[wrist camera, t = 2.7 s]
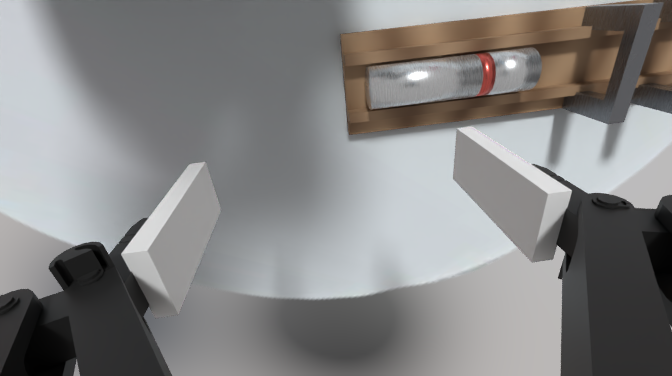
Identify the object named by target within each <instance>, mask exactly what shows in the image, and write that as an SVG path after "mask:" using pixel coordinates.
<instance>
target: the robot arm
mask: <svg viewBox="0 0 672 376" xmlns="http://www.w3.org/2000/svg"><path fill="white" fill-rule="evenodd" d="M453 179H454V180H455V181H456V182H457V184H458V185H459V186H460V187H461V188H462V189H463V190H464V191H465V192H466V193H467V194H468V195H469V196H470V197H471V198H472V199H473V201H474V202H475V203H476V204H477V205H478V206H479V207H480V208H481V209H482V210H483V211H484V212H485V213H486V214H487V215H488V216H489V218H490V219H491V220H492V221H493V222H494V223H495V224H496V225H497V226H498V227H499V228H500V229H501V230H502V231H503V232H504V233H505V235H506V236H507V237H508V238H509V239H510V240H511V241H512V242H513V243H514V244H515V245H516V246H517V247H518V248H519V249H520V250H521V252H522V253H523V254H524V255H525V256H526V257H527V258H528V259H529V260H530V261H531V262H538V261H545V260H552V259H553V258H554V254H555V250H556V247H557V245H558V246H559V247H560V248H561V249H562V250H563V251H565V252H566V253H565V256H564V259H563V263H562V266H561V269H560V273H559V276H558V278H559V279H562V333H561V335H562V336H561V376H672V331H671V327H672V195H668V196H665V197H662V199H661V200H660V203H659V205H658V207H657V209H641V208H634V206H633V205H632V204H631V203H630V202H628V201H627V200H625V199H623V198H620V197H617V196H614V195H609V194H604V193H591V194H588V193H586V192H584V191H583V190H581V189H579V188H578V187H576V186H575V185H573V184H571V183H570V182H568V181H564V179H563V178H562V177H560V176H557V175H556V174H555V173H553V172H552V171H550V170H549V169H547V168H544V167H541V166H538V165H535V164H530V163H528V162H527V161H525V160H524V159H522V158H521V157H519V156H517V155H516V154H514V153H513V152H511V151H510V150H508V149H507V148H505V147H503V146H502V145H500V144H499V143H497V142H496V141H494V140H492V139H491V138H489V137H488V136H486V135H485V134H483V133H481V132H480V131H478V130H477V129H475V128H474V127H464V128H457V132H456V145H455V158H454V171H453ZM220 213H221V208H220V204H219V201H218V198H217V195H216V192H215V189H214V186H213V183H212V180H211V176H210V173H209V170H208V167H207V164H206V162H200V163H192V164H189V165H188V167H187V168H186V169H185V170H184V172H183V173H182V174H181V176H180V177H179V178H178V180H177V181H176V182H175V184H174V185H173V186H172V188H171V189H170V190H169V192H168V193H167V194H166V196H165V197H164V198H163V199H162V201H161V202H160V203H159V205H158V206H157V207H156V209H155V210H154V211H153V213H152V214H151V215H150V217H149V218H143V219H142V220H140V221H139V222H138V223H136V224H135V225H133V226H132V227H131V228H130V229H129V231H128V232H127V233H126V234H125V237H123V238H122V239H121V241H120V242H119V244H117V246H116V247H115V248H114V249H113V250H112V252H111V253H110V254H108V253H107V251H106V249H105V247H104V246H103V244H101V243H100V242H89V243H83V244H81V245H78V246H75V247H72V248H70V249H68V250H66V251H64V252H63V253H61V254H60V255H58V256H57V257H56V258H55V259H54V260H53V261H52V262H51V263H50V266H49V270H50V271H51V272H52V274H53V275H54V277H55V278H56V280H57V281H58V283H59V284H60V285H61V287H62V289H63V290H64V291H62V292H59V293H56V294H53V295H50V296H47V297H44V298H42V299H38V298H37V297H36V295H35V294H34V293H33V291H31V290H29V289H20V290H16V291H12V292H9V293H7V294H5V295H1V296H0V376H73V374H74V369H75V364H76V359H77V362H78V367H79V372H80V376H172V374H171V372H170V370H169V368H168V366H167V364H166V362H165V360H164V358H163V356H162V354H161V351H160V349H159V347H158V345H157V343H156V341H155V339H154V337H153V335H152V332H151V331H150V329H149V326H148V324H147V322H146V320H145V319H144V317H143V316H144V314H145V312H146V310H147V308H148V307H150V309H151V311H152V313H153V314H154V316H155V318H162V317H168V316H174V315H179V312H180V310H181V308H182V305H183V303H184V301H185V298H186V295H187V293H188V291H189V288H190V286H191V284H192V281H193V279H194V276H195V274H196V271H197V269H198V266H199V264H200V262H201V259H202V257H203V254H204V252H205V249H206V247H207V245H208V242H209V240H210V237H211V235H212V232H213V230H214V228H215V225H216V223H217V220H218V218H219V215H220ZM670 325H671V327H670Z"/></svg>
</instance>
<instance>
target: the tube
mask: <svg viewBox="0 0 672 376" xmlns="http://www.w3.org/2000/svg"><path fill="white" fill-rule="evenodd" d="M541 71H542V61H541V56H540V54H539V52H538V51H537V50H536V49H535V48H532V47H530V48H521V49H513V50H504V51H496V52H487V53H479V54H471V55H462V56H454V57H445V58H437V59H428V60H420V61H412V62H403V63H395V64H386V65H378V66H369V67H366V69H365V92H366V99H367V104H368V107H369V109H370V110H372V109H380V108H388V107H396V106H404V105H412V104H420V103H428V102H436V101H445V100H453V99H461V98H469V97H477V96H485V95H493V94H501V93H509V92H517V91H525V90H530V89H532V88H533V87H534V86H535V85H536V84H537V82H538V81H539V78H540V75H541Z"/></svg>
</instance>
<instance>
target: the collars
mask: <svg viewBox="0 0 672 376" xmlns="http://www.w3.org/2000/svg"><path fill="white" fill-rule="evenodd" d="M658 18H661V21H660V22H672V0H653V3H638V4H612V5H596V6H588V7H586V8H585V12H584V17H583V21H582V25H581V26H592V30H606V31H624V33H623V37H622V40H621V43H620V47H619V50H618V54H617V57H616V60H615V64H614V67H613V71H612V74H611V77H610V81H609V84H608V88H607V91H606V94H601V93H597V92H593V91H584V92H576V94H575V95H574V96H566V97H564V101H563V106H562V108H563V109H566V110H569V111H572V112H575V113H578V114H581V115H583V116H586V117H589V118H592V119H595V120H598V121H601V122H603V123H606V124H612V123H620V122H624V120H625V117H626V114H627V111H628V108H629V105H630V103H633V104H637V105H641V106H644V107H648V108H652V109H656V110H660V111H664V112H667V113H671V114H672V86H667V85H662V84H657V83H648V84H640V85H639V86H638V88H635V87H636V84H637V81H638V78H639V75H640V72H641V69H642V66H643V63H644V60H645V57H646V54H647V51H648V48H649V45H650V42H651V39H652V36H653V33H654V30H655V27H656V24H657V21H658Z"/></svg>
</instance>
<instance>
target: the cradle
mask: <svg viewBox="0 0 672 376" xmlns="http://www.w3.org/2000/svg"><path fill="white" fill-rule="evenodd" d="M638 3H653V0H635V1H626V2H617V3H609V4H600V5H612V4H638ZM591 6H596V5H591ZM586 7H588V6H582V7H574V8H565V9H556V10H547V11H539V12H530V13H521V14H512V15H504V16H495V17H486V18H477V19H469V20H460V21H451V22H442V23H434V24H425V25H416V26H407V27H399V28H390V29H381V30H372V31H364V32H355V33H346V34H340V38H341V50H342V62H343V74H344V86H345V98H346V110H347V122H348V132H349V135H352V134H360V133H368V132H376V131H384V130H392V129H400V128H408V127H416V126H424V125H431V124H439V123H447V122H455V121H463V120H471V119H479V118H487V117H495V116H503V115H510V114H518V113H526V112H534V111H542V110H550V109H558V108H562V106H563V101H564V97H566V96H574V95H575V94H576V92H584V91H593V92H597V93H601V94H606V91H607V88H608V84H609V81H610V77H611V74H612V71H613V67H614V64H615V60H616V57H617V54H618V50H619V47H620V43H621V40H622V37H623V33H624V31H606V30H592V26H581V25H582V21H583V17H584V12H585V8H586ZM660 21H661V18H658V21H657V24H656V27H655V30H654V33H653V36H652V39H651V42H650V45H649V48H648V51H647V54H646V57H645V60H644V63H643V66H642V69H641V72H640V75H639V78H638V81H637V84H636V87H635V88H638V86H639V85H640V84H648V83H657V84H662V85H667V86H672V22H660ZM530 47H532V48H535V49H536V50H537V51H538V52H539V54H540V56H541V61H542V71H541V75H540V78H539V81H538V82H537V84H536V85H535V86H534V87H533V88H532V89H530V90H525V91H517V92H509V93H501V94H493V95H485V96H477V97H469V98H461V99H453V100H445V101H436V102H428V103H420V104H412V105H404V106H396V107H388V108H380V109H372V110H370V109H369V107H368V104H367V99H366V92H365V69H366V67H369V66H378V65H386V64H395V63H403V62H412V61H420V60H428V59H437V58H445V57H454V56H462V55H471V54H479V53H487V52H496V51H504V50H513V49H521V48H530Z"/></svg>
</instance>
